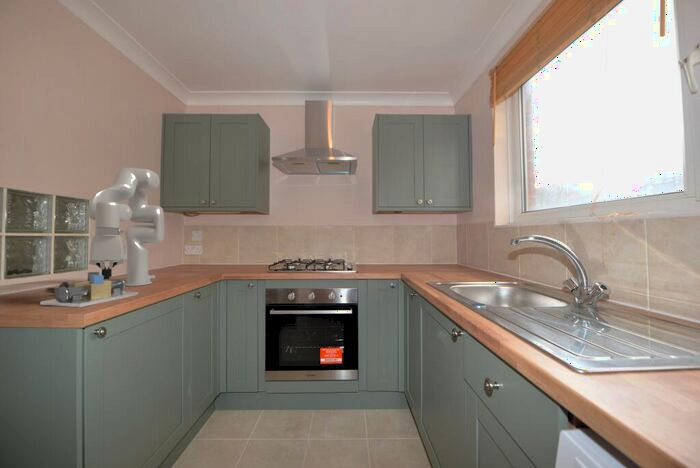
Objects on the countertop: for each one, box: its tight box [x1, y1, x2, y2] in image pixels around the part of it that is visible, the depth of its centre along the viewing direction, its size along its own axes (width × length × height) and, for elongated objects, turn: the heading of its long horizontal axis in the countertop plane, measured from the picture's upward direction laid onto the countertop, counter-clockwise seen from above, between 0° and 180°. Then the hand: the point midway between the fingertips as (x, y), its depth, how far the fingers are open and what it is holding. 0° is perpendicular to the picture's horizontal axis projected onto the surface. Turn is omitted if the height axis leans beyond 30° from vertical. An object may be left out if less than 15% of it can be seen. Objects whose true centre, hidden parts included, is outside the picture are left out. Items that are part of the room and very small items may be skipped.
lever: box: [87, 271, 104, 285], centre depth 118 cm, size 15×4×4 cm, turn 47°
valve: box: [45, 281, 75, 292], centre depth 137 cm, size 6×26×15 cm
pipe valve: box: [39, 278, 139, 308], centre depth 122 cm, size 24×18×7 cm
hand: (106, 278), depth 118 cm, fingers closed
